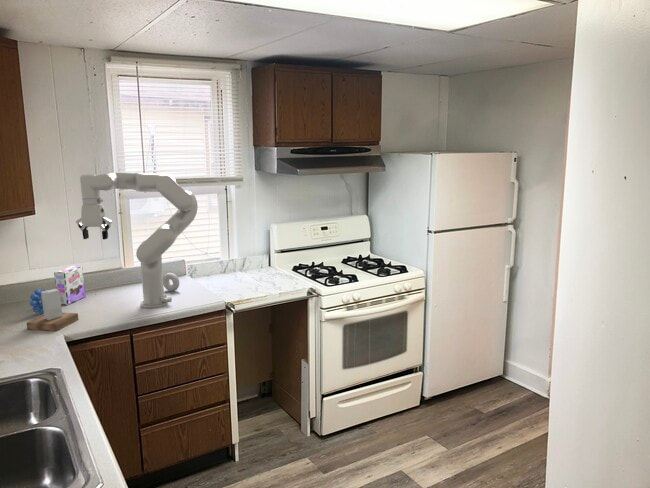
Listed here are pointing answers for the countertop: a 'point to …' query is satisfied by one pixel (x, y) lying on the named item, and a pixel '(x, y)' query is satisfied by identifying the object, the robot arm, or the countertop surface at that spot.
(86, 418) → the countertop surface
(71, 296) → the candy box
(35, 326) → the walnut board
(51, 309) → the skincare box
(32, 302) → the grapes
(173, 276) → the donut
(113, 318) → the countertop surface
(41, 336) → the countertop surface
